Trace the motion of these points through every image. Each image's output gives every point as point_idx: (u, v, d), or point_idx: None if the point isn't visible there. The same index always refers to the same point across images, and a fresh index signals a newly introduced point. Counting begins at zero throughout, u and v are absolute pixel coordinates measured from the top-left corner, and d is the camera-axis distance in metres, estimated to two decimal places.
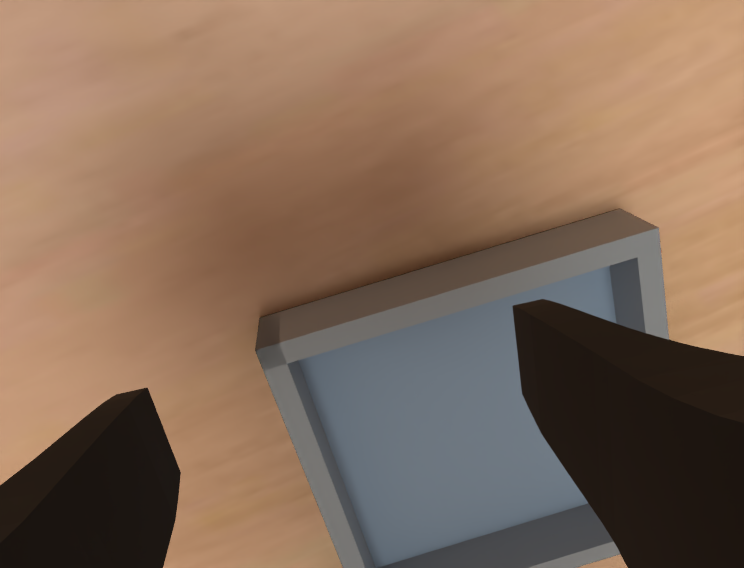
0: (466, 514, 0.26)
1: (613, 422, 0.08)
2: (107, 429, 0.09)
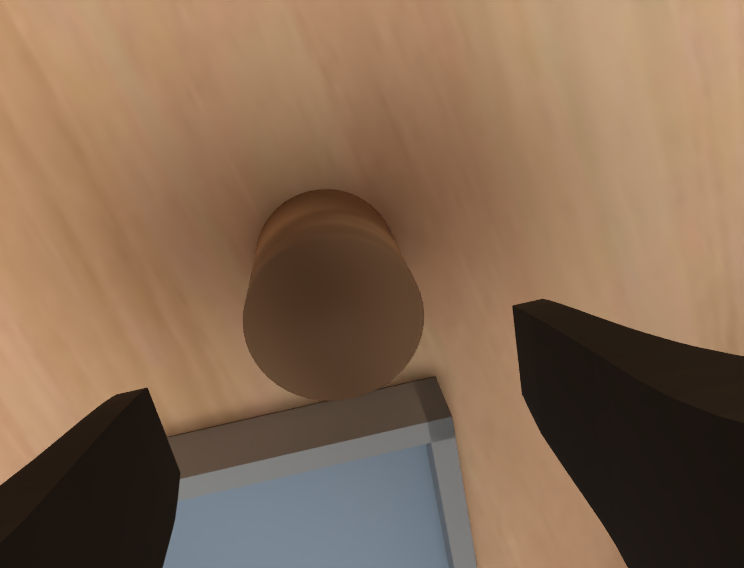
0: None
1: (613, 422, 0.08)
2: (107, 429, 0.09)
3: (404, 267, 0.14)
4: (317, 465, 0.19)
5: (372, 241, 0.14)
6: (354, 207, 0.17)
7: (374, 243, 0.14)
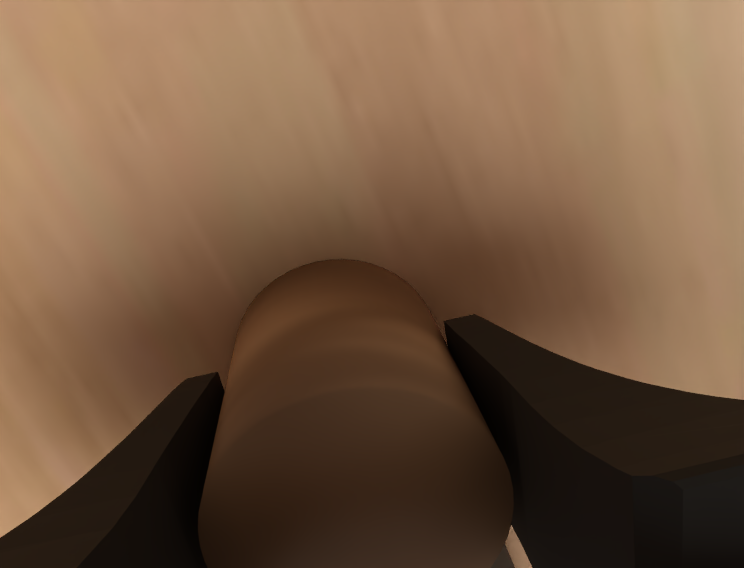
0: None
1: (518, 444, 0.08)
2: (192, 410, 0.09)
3: (484, 433, 0.08)
4: None
5: (428, 390, 0.08)
6: (385, 297, 0.11)
7: (433, 396, 0.08)
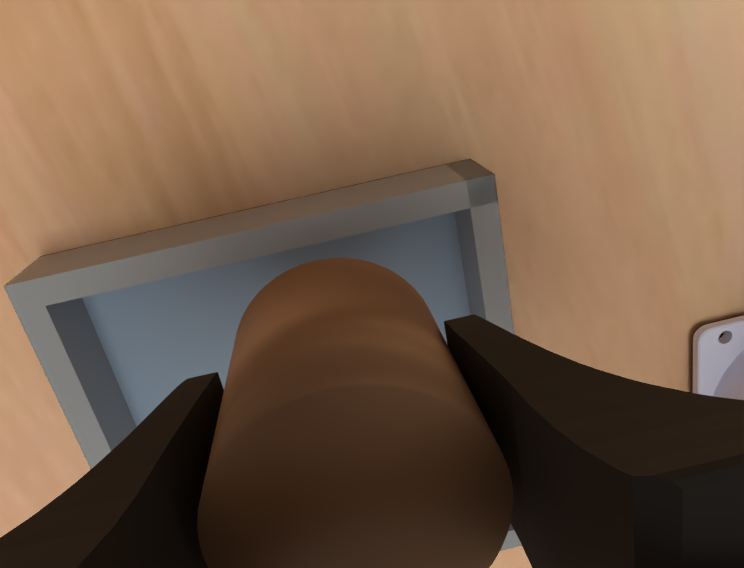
0: None
1: (518, 444, 0.08)
2: (191, 410, 0.09)
3: (484, 431, 0.08)
4: (340, 233, 0.17)
5: (428, 388, 0.08)
6: (385, 295, 0.11)
7: (432, 393, 0.08)
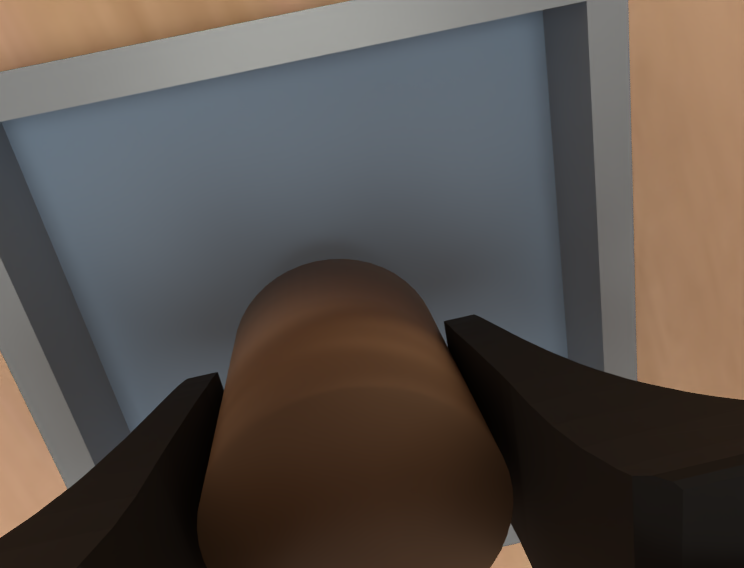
0: (513, 324, 0.16)
1: (518, 444, 0.08)
2: (191, 410, 0.09)
3: (484, 433, 0.08)
4: (392, 33, 0.11)
5: (428, 389, 0.08)
6: (384, 296, 0.11)
7: (432, 395, 0.08)
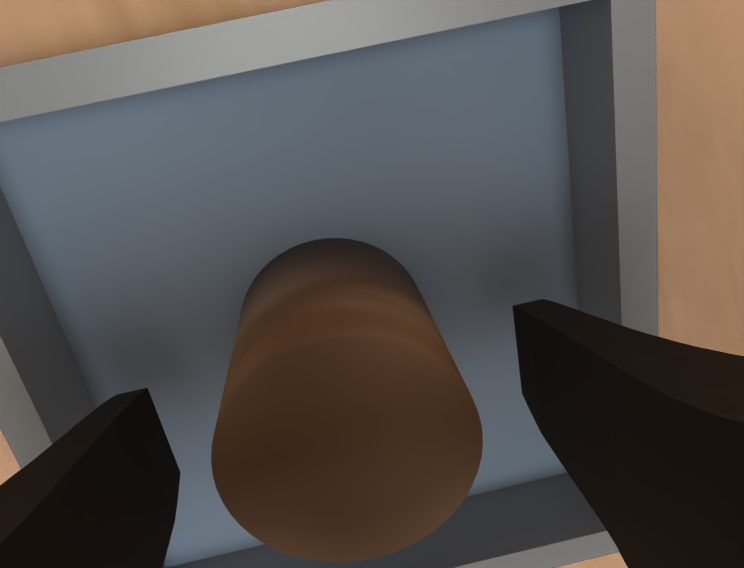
0: None
1: (613, 422, 0.08)
2: (107, 429, 0.09)
3: (456, 378, 0.09)
4: (398, 31, 0.10)
5: (408, 340, 0.09)
6: (374, 269, 0.12)
7: (411, 344, 0.09)
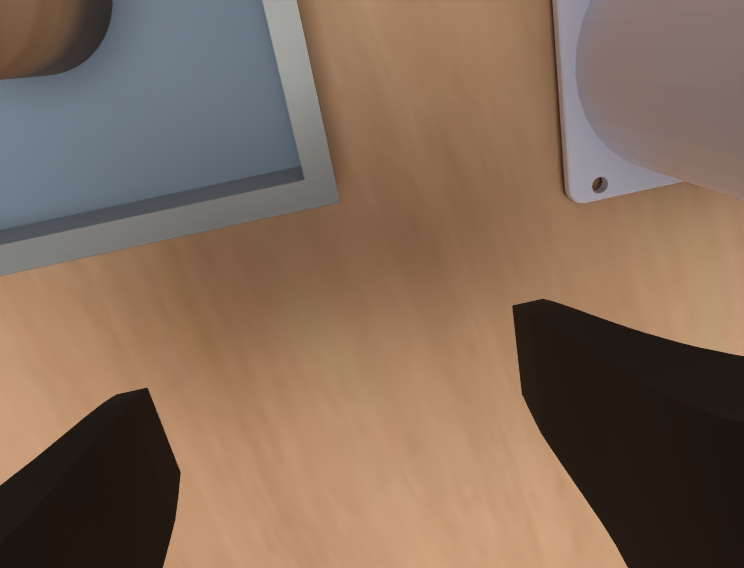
0: (214, 15, 0.16)
1: (613, 422, 0.08)
2: (107, 429, 0.09)
3: None
4: None
5: None
6: None
7: None
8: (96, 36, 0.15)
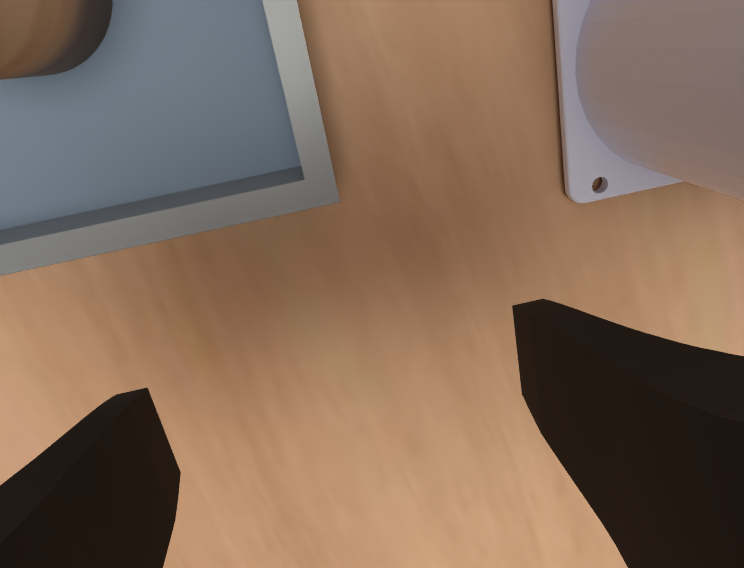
0: (215, 15, 0.16)
1: (613, 422, 0.08)
2: (107, 429, 0.09)
3: None
4: None
5: None
6: None
7: None
8: (96, 36, 0.15)
